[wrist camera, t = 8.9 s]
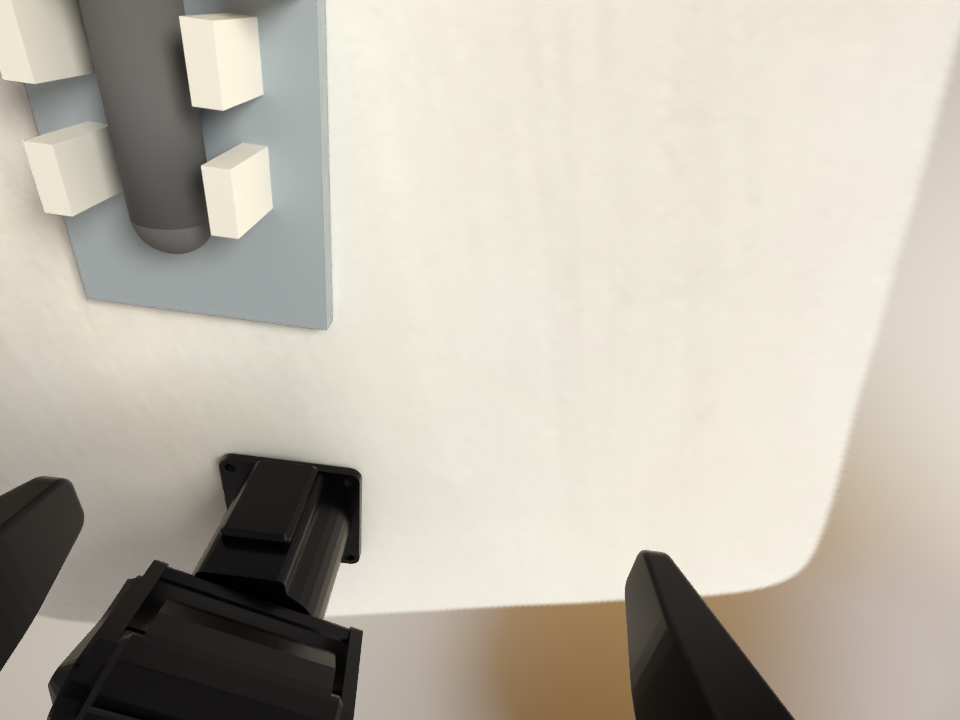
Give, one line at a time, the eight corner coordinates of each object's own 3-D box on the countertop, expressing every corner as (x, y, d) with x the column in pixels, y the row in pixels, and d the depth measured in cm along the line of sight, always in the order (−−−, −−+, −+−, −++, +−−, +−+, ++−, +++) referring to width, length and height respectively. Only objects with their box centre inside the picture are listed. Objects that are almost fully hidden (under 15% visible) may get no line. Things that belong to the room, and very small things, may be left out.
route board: (332, 319, 22) (304, 372, 19) (100, 289, 22) (34, 336, 19) (315, -407, 12) (249, -541, 9) (-113, -479, 12) (-328, -642, 9)
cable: (254, 245, 19) (201, 297, 16) (139, 230, 19) (60, 279, 16) (191, -324, 12) (71, -445, 9) (6, -352, 12) (-187, -485, 9)
